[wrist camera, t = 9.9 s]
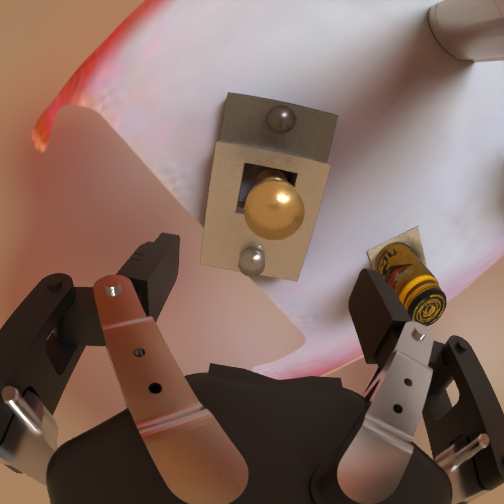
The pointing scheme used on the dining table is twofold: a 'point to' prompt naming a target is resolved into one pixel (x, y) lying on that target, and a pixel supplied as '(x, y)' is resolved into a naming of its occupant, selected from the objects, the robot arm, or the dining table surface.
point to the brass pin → (273, 206)
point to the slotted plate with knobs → (270, 155)
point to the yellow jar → (410, 276)
